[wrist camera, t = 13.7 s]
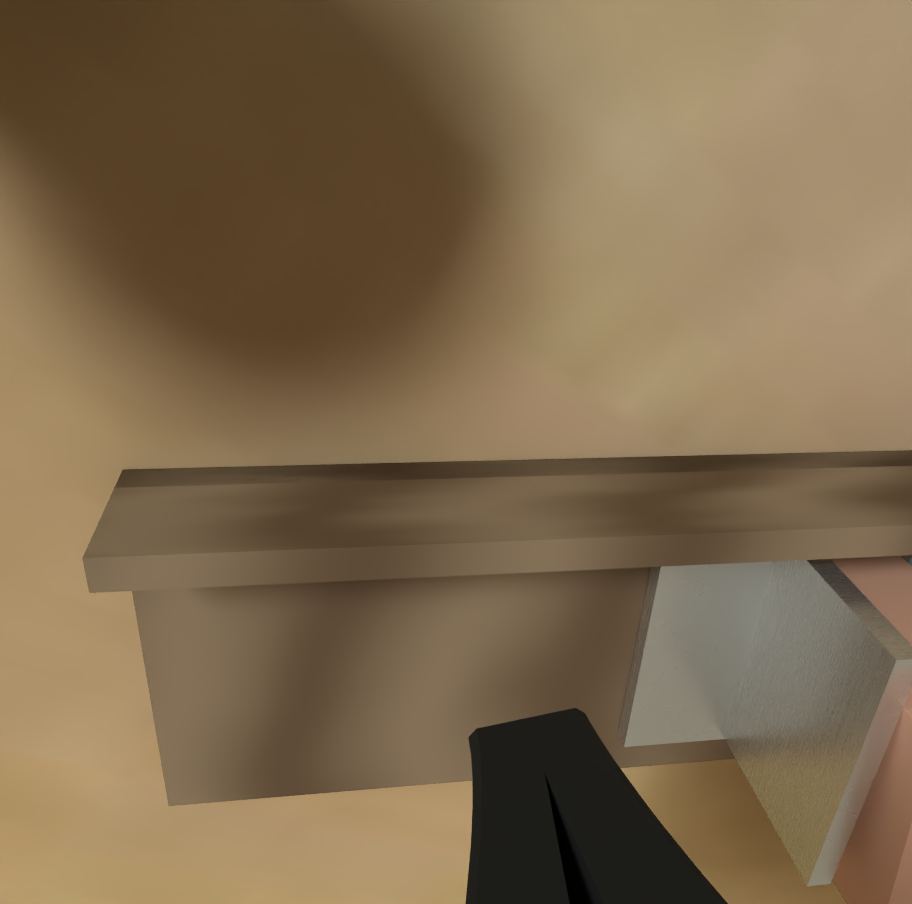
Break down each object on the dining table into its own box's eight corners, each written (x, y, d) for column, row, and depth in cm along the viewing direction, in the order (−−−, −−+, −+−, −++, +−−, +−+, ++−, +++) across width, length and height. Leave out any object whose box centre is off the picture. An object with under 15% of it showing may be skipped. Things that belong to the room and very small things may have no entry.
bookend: (795, 521, 20) (923, 658, 16) (736, 723, 24) (830, 884, 19) (659, 526, 20) (753, 669, 15) (618, 733, 23) (687, 899, 19)
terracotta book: (890, 546, 21) (1075, 717, 16) (850, 733, 25) (992, 926, 19) (781, 563, 21) (934, 743, 16) (756, 750, 24) (875, 951, 19)
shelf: (1065, 446, 21) (1210, 528, 18) (942, 720, 26) (1038, 827, 23) (123, 469, 18) (73, 577, 14) (173, 781, 23) (145, 920, 19)
